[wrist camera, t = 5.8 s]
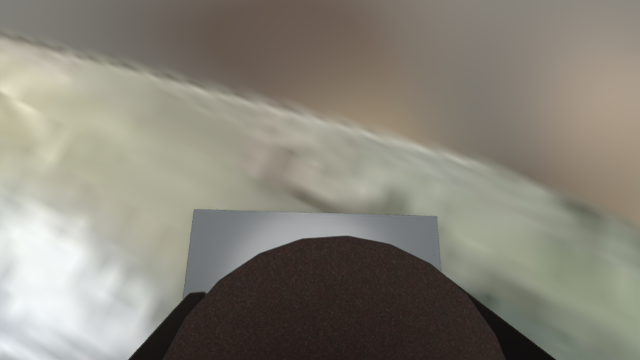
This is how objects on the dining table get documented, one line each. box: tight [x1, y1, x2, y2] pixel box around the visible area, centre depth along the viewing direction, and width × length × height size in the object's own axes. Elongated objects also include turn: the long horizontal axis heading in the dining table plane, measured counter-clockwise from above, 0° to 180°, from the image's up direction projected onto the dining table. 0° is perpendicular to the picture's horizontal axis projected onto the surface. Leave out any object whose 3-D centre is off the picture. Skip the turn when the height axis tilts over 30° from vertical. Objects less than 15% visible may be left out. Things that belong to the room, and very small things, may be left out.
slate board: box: [183, 209, 441, 299], centre depth 21 cm, size 16×16×1 cm
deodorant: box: [163, 235, 506, 360], centre depth 13 cm, size 6×6×15 cm
